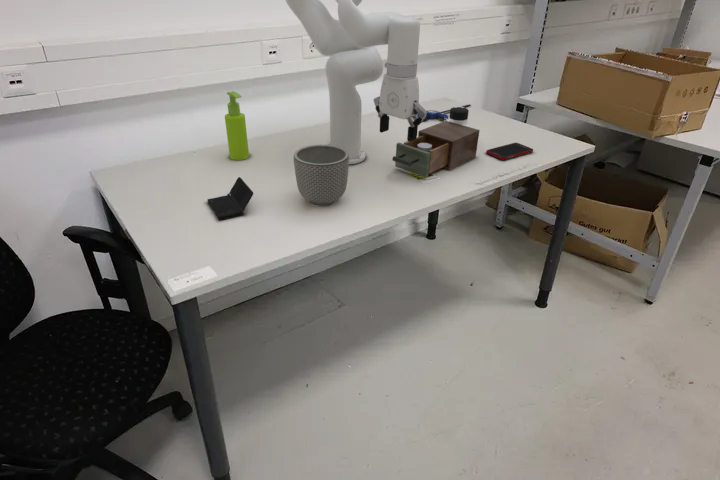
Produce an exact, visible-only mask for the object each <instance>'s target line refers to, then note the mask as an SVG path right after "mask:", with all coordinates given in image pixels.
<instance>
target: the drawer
mask: <svg viewBox="0 0 720 480" xmlns="http://www.w3.org/2000/svg"><path fill="white" fill-rule="evenodd" d="M419 143H429V144H431V145H432V150H430V151H429V152H427V151H423V150H420V149H417V145H418V144H419ZM450 144H451V143H448V142H445V141H442V140H438V139H435V138H432V137H429V136H425V135H422V136H419V137H418V136H417V137H416V139H415V140H413V141H410V142H409V141H407V140H406V141H405V142H403V143H402V142H397V143H396V148H395V155H394V156H392V162H394V163H395V164H394V167H395V168H398V169H400V170H404V171H406V172H409V173H412V174H415V175H417V176H420V177H423V178H424V179H426V178H428V177H429V174H431V173H434V172H435V171H437V170H440V169H443V168H442V167H444V166H446V165H448V160H449V152H450Z"/></svg>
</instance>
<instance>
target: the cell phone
mask: <svg viewBox="0 0 720 480" xmlns="http://www.w3.org/2000/svg"><path fill="white" fill-rule="evenodd" d="M533 152H534V148H532V147H529V146H527V145H524V144H522V143H519V142H511V143H508V144H505V145H500V146H496V147H493V148H489V149H486V152H485V154H487V155H489V156H491V157H494V158H496V159H499V160H501V161H505V160H508V159H513V158H517V157H520V156H524V155H527V154H531V153H533Z"/></svg>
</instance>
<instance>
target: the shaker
mask: <svg viewBox="0 0 720 480" xmlns="http://www.w3.org/2000/svg"><path fill="white" fill-rule="evenodd" d="M417 149H420V150H423V151H427V152H429V151H430V150H432V145H431V144H429V143H419V144H418V145H417Z"/></svg>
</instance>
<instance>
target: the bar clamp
mask: <svg viewBox="0 0 720 480" xmlns="http://www.w3.org/2000/svg"><path fill="white" fill-rule="evenodd" d="M461 107H465V108H466V107H467V108H468V107H472V104H466V105H462V106H461ZM426 111H427V115H426V117H425V119H424V121H423V122H425V121H427V120H428V119H430V120H435V119H438V120H441V121H445V119H449V115H448V114H446V113H450V109H447V110H443V111H440V110H435V109H429V110H426ZM417 117H419V113H418V114H417Z"/></svg>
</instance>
